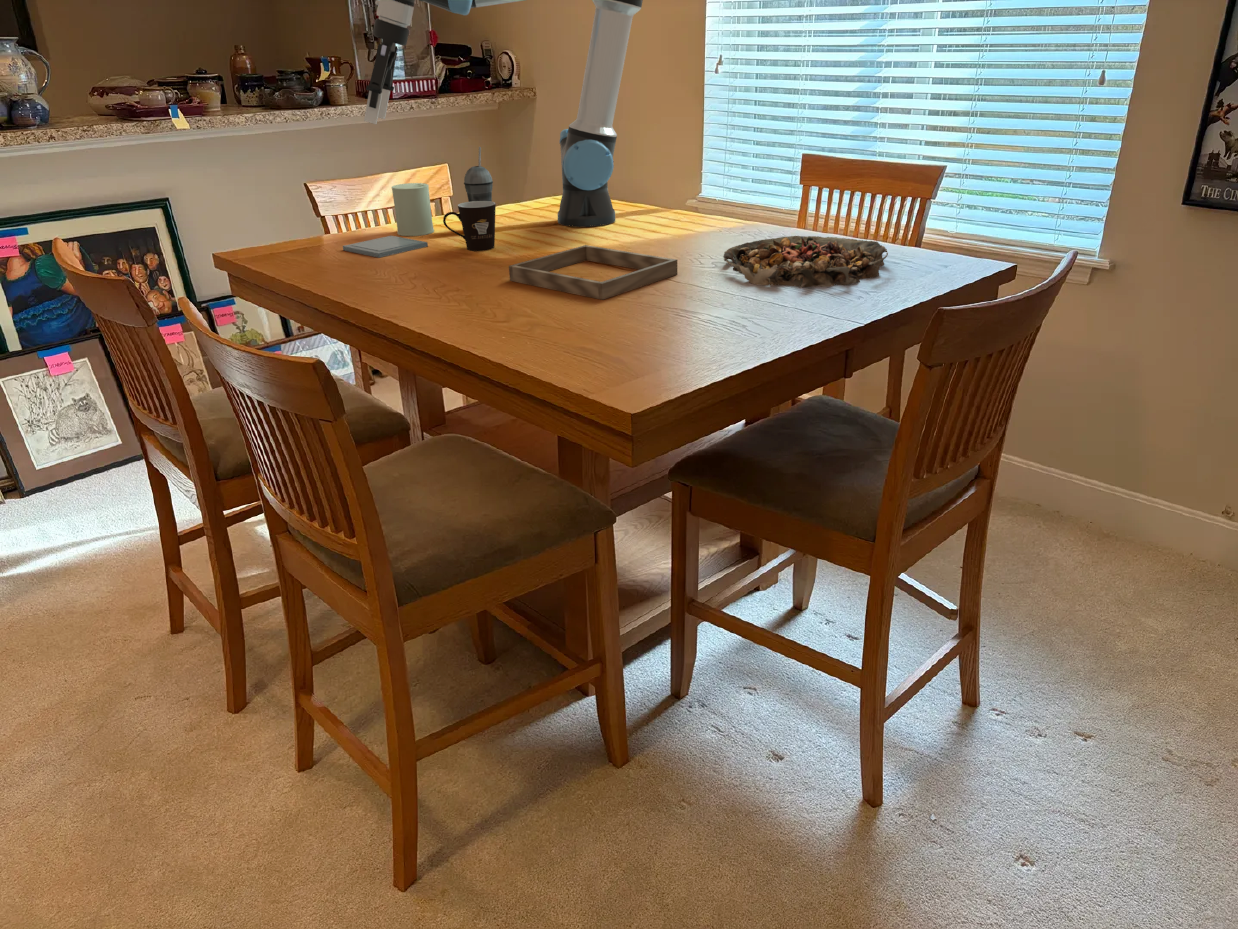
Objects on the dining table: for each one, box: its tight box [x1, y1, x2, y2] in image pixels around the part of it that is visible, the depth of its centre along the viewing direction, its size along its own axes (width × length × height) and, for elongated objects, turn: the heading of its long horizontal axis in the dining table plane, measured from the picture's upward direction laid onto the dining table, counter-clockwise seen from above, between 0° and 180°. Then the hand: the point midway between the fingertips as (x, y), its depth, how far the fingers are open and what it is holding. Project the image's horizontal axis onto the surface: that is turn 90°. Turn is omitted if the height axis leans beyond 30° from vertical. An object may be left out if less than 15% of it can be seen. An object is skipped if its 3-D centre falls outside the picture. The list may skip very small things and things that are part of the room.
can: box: [391, 182, 435, 237], centre depth 227 cm, size 9×9×12 cm
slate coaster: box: [342, 235, 428, 259], centre depth 213 cm, size 14×14×1 cm
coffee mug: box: [442, 201, 496, 252], centre depth 208 cm, size 12×9×10 cm
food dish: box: [723, 235, 889, 289], centre depth 184 cm, size 35×33×8 cm
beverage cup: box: [463, 146, 494, 202], centre depth 226 cm, size 7×7×20 cm
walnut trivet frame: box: [508, 244, 678, 300], centre depth 182 cm, size 25×23×3 cm
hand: (374, 119), depth 208 cm, fingers open, 13 cm apart
